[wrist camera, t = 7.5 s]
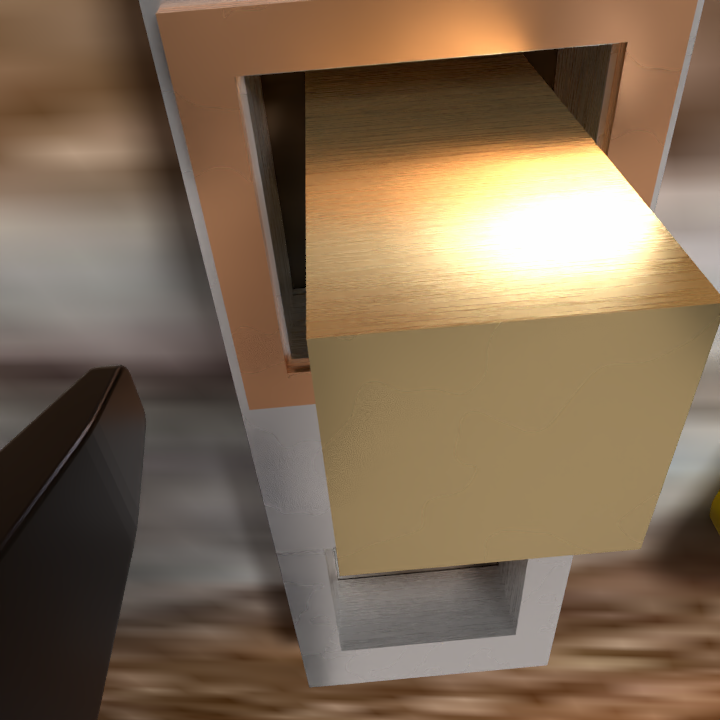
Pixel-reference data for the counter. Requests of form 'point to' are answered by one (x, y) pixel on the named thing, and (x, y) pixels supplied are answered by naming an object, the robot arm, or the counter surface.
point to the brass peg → (487, 320)
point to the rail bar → (287, 305)
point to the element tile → (716, 512)
